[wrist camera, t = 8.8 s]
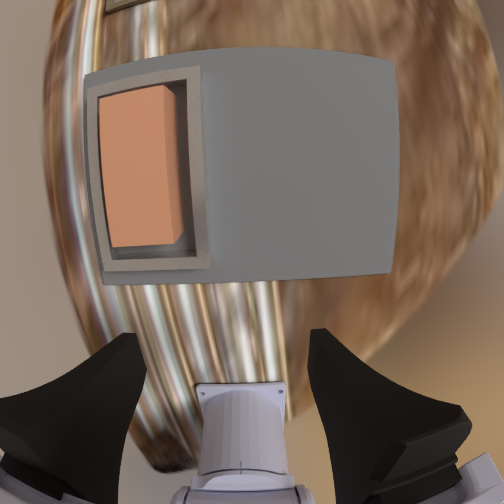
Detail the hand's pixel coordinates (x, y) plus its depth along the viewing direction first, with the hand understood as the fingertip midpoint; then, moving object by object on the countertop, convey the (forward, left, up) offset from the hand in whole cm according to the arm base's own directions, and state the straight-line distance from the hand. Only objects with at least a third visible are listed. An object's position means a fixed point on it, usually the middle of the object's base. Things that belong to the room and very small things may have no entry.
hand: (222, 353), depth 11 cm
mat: (+7, -1, -9) cm, 12 cm away
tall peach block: (+7, +5, -9) cm, 13 cm away
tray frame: (+7, +5, -9) cm, 13 cm away
